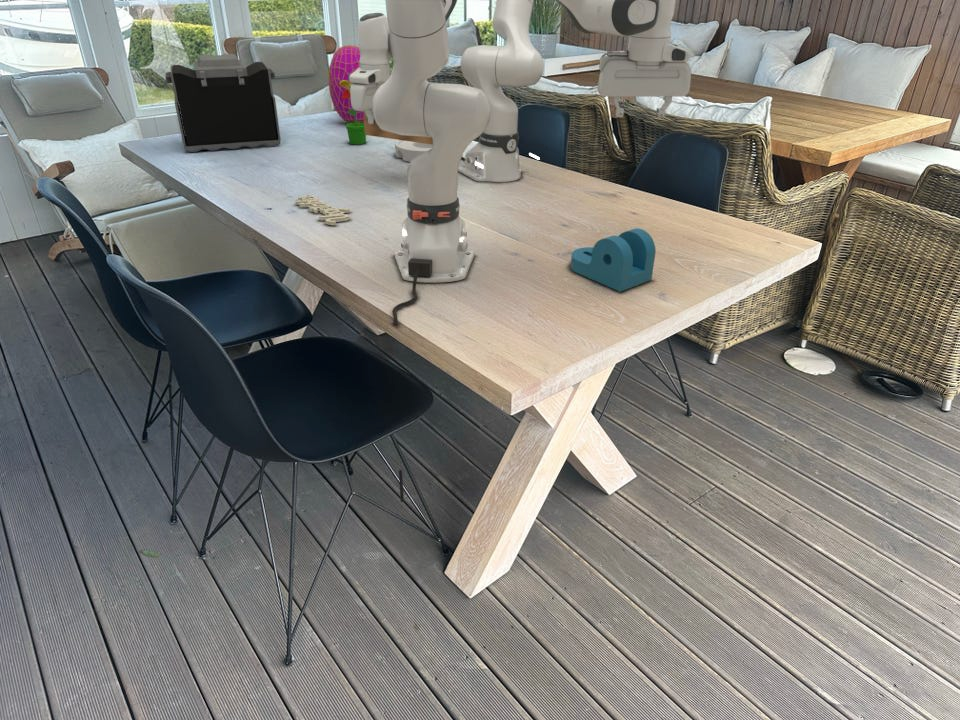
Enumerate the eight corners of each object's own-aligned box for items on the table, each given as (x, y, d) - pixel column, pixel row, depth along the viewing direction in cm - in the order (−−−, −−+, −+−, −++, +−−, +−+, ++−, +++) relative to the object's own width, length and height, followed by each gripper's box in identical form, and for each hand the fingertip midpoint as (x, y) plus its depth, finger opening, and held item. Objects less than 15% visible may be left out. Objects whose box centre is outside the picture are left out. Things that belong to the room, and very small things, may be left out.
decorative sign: (363, 215, 186) (329, 222, 181) (363, 219, 186) (330, 226, 181) (319, 192, 204) (287, 198, 198) (319, 195, 204) (288, 201, 199)
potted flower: (342, 144, 260) (336, 73, 247) (351, 139, 266) (346, 70, 254) (365, 146, 257) (360, 74, 245) (374, 141, 264) (369, 71, 251)
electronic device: (278, 133, 274) (267, 51, 259) (285, 146, 256) (274, 59, 241) (180, 140, 262) (162, 54, 247) (180, 153, 244) (161, 62, 229)
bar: (446, 142, 206) (446, 110, 201) (438, 145, 203) (437, 112, 198) (374, 132, 218) (372, 101, 213) (364, 134, 214) (362, 103, 209)
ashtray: (453, 164, 236) (453, 152, 234) (387, 161, 239) (387, 149, 237) (465, 148, 256) (465, 137, 254) (404, 145, 259) (404, 134, 257)
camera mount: (651, 279, 153) (658, 234, 148) (620, 291, 148) (626, 245, 142) (592, 255, 165) (596, 213, 160) (561, 266, 160) (564, 222, 154)
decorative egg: (362, 116, 305) (357, 42, 290) (386, 123, 292) (382, 46, 277) (324, 121, 294) (316, 45, 279) (347, 129, 281) (340, 49, 266)
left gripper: (603, 52, 146) (597, 119, 153) (697, 52, 147) (687, 119, 154) (597, 48, 152) (591, 114, 159) (688, 49, 153) (678, 114, 160)
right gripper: (387, 69, 215) (389, 115, 221) (345, 76, 199) (349, 126, 206) (403, 70, 212) (405, 117, 219) (362, 78, 196) (365, 128, 203)
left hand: (639, 117), depth 156 cm, fingers open, 8 cm apart
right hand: (377, 121), depth 212 cm, fingers closed on bar, 5 cm apart
